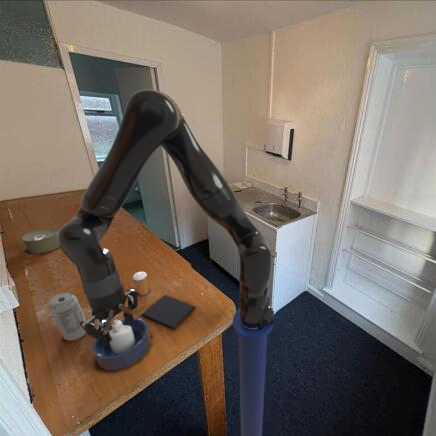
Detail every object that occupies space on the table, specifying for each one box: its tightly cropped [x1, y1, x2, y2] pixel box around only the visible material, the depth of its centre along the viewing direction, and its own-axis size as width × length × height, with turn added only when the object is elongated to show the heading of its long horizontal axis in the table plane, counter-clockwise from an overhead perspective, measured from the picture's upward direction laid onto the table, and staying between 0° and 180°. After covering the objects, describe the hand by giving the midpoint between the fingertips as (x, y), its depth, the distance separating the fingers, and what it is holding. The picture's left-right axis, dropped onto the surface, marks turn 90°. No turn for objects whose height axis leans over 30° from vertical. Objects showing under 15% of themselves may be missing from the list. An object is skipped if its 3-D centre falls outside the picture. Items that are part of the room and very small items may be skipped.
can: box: [21, 228, 60, 254], centre depth 111 cm, size 12×12×7 cm
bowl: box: [91, 317, 151, 371], centre depth 69 cm, size 13×13×6 cm
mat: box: [142, 294, 196, 330], centre depth 84 cm, size 14×10×1 cm
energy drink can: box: [48, 292, 87, 341], centre depth 70 cm, size 6×6×15 cm
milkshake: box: [132, 271, 149, 296], centre depth 89 cm, size 4×5×10 cm
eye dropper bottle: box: [109, 318, 136, 354], centre depth 68 cm, size 4×6×12 cm
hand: (119, 331), depth 67 cm, fingers open, 5 cm apart
